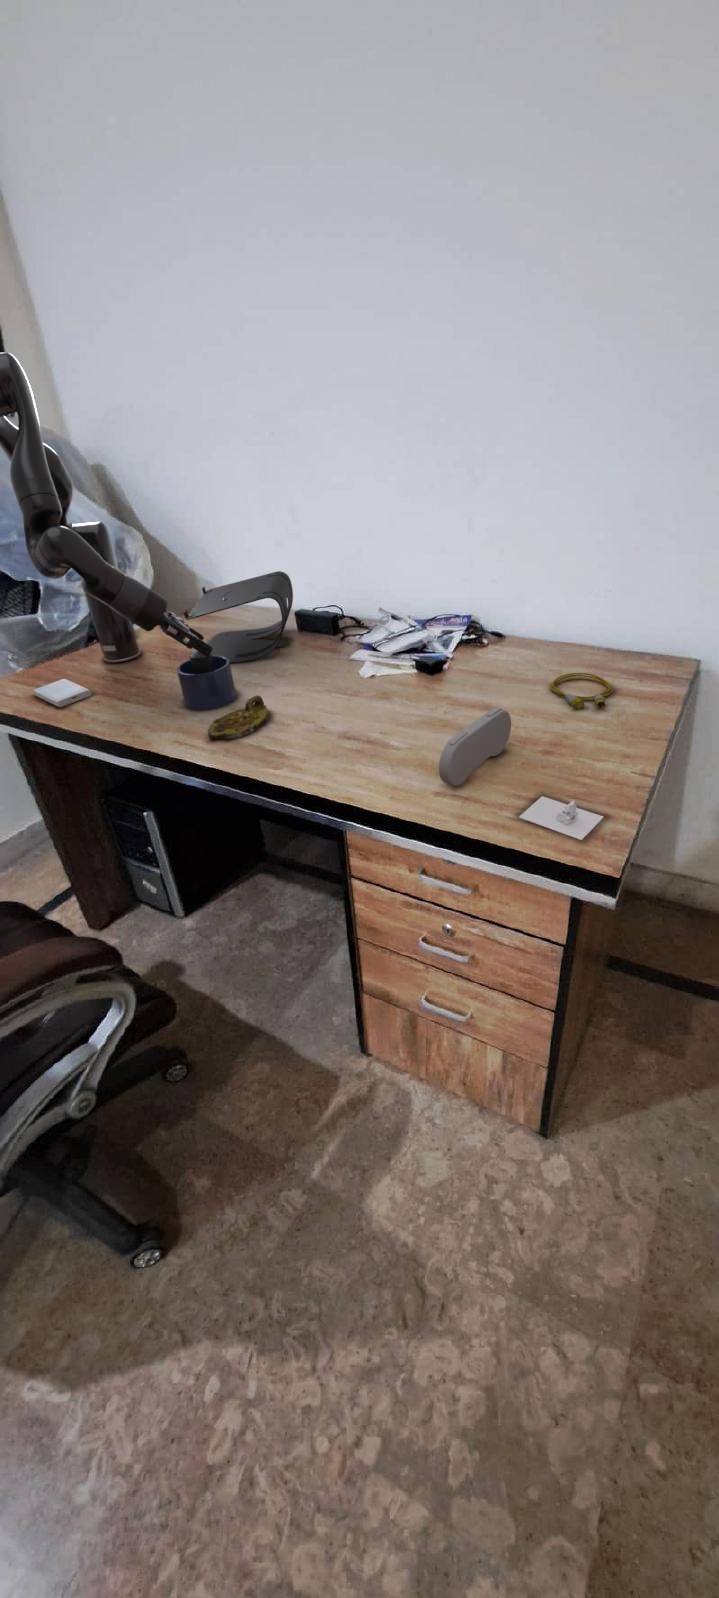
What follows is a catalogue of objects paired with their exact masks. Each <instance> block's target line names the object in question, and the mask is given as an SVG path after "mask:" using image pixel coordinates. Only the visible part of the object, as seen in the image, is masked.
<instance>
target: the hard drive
mask: <svg viewBox="0 0 719 1598" xmlns="http://www.w3.org/2000/svg"><path fill="white" fill-rule="evenodd" d="M32 692H33V695H34V696H36V697H38V698H39V699H41V700H43V701H45V702H48V703H50V704H51V705H54V706H55V707H58V708H62V707H65V706H67V705H70V704H72V703H76V702H78V701H81V700H84V699H86V698H89V697H91V696H92V691H91V689H88V688H87V687H84V686H82V685H80V684H78V683H75V682H73V681H71V680H69V679H66V678H61V679H58V680H55V681H54V682H51V683H48V684H45V685H42V686H40V687H37V688H35V689H33V690H32Z"/></svg>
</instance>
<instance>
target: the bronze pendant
mask: <svg viewBox="0 0 719 1598" xmlns="http://www.w3.org/2000/svg"><path fill="white" fill-rule="evenodd" d="M268 720H269V711H268V707H267V705H266V704H265V702H264V700H263V698H262V696H261V695H259V694H258V695H254V696H252V697H250V698H248V699H247V700H246V702H245V707H244V708H243V709H242V708H240V709H236V710H234V711H231V712H229V713H227V714H225V715H223V716H221V717H219V718H216V719H214V720H213V721H212V724H211V725H210V727H209V729H208V732H207V733H208V738H209V739H210V740H214V739H223V740H233V739H238V738H242V737H245V736H247V735H250V734H252V733H253V732H255V731H256V730H257V729H259V728H260V727H262V726H263V725H264V724H265V723H266V722H267V721H268Z"/></svg>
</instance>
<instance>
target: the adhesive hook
mask: <svg viewBox="0 0 719 1598" xmlns="http://www.w3.org/2000/svg"><path fill="white" fill-rule="evenodd" d="M577 808H578V807H577V804H576V799H572V800H571V801H570V802H569V803H568V804H567V805H566V806H565V807H564V808H562V809H561V810H560V811H559V812H558V813H557V815H556V817H555V819H554V820H555V821H559V822H562V823H563V824H564V825H568V824H571V823H573V822H575V821H577V820H578V819H579V812H578V811H577Z"/></svg>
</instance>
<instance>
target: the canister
mask: <svg viewBox="0 0 719 1598" xmlns="http://www.w3.org/2000/svg"><path fill="white" fill-rule="evenodd" d="M189 660H190V661H191V665H192V669H193V674H201V673H207V672H212V671H215V668H214V663H213V658H212V653H210V654H209V656H205V655H203V654H202V653H200V652H199V651H197V650H196V651H194V652H192V653H190V654H189Z"/></svg>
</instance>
